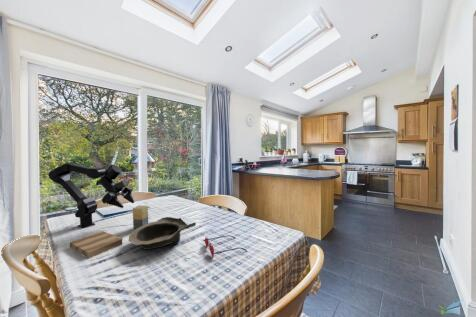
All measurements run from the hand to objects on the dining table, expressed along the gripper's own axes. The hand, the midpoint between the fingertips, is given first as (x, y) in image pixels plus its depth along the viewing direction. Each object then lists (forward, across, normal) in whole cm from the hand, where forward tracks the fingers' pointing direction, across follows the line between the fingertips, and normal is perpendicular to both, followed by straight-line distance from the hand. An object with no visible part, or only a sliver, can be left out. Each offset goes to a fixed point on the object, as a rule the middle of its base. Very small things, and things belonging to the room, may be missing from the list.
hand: (128, 205), depth 115 cm
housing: (+14, 0, +4) cm, 15 cm away
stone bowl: (+28, -16, -9) cm, 33 cm away
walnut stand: (+8, -21, +10) cm, 25 cm away
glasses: (+51, -16, -31) cm, 62 cm away
